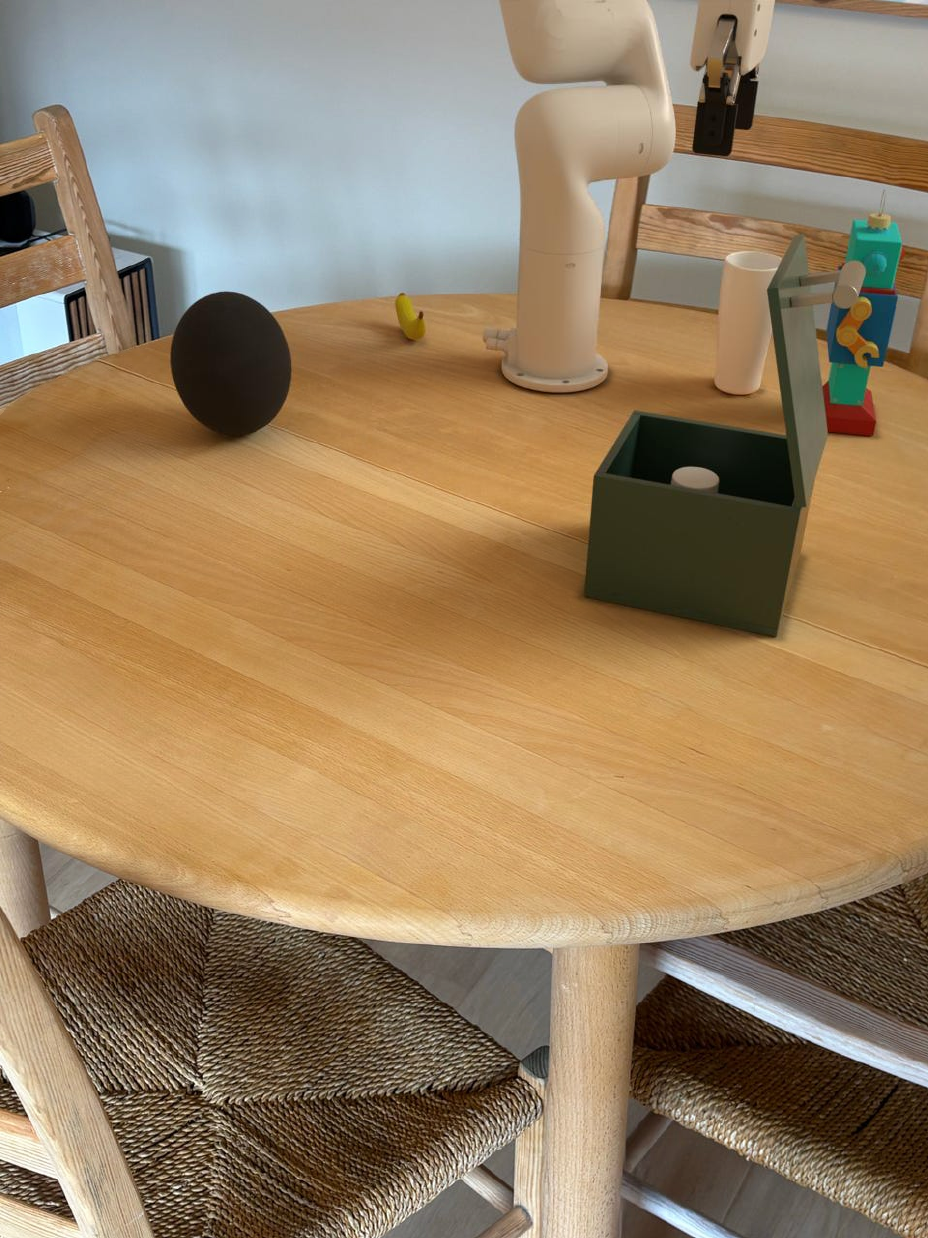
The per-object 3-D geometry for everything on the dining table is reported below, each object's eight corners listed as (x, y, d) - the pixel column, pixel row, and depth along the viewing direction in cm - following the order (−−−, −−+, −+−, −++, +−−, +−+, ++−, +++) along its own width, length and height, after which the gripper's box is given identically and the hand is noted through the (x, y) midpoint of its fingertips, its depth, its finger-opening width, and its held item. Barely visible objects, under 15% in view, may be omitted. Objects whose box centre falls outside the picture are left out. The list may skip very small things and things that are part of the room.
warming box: (583, 596, 108) (593, 475, 101) (623, 524, 118) (634, 409, 112) (776, 637, 103) (800, 512, 96) (799, 557, 114) (822, 440, 107)
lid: (766, 289, 88) (848, 277, 86) (794, 234, 99) (867, 223, 96) (795, 508, 96) (871, 503, 94) (818, 436, 107) (886, 430, 105)
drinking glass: (701, 393, 144) (717, 265, 135) (714, 371, 149) (731, 247, 140) (759, 403, 142) (780, 273, 133) (770, 381, 147) (791, 255, 138)
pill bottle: (699, 588, 108) (712, 497, 103) (644, 570, 110) (654, 481, 105) (722, 561, 111) (736, 473, 106) (668, 545, 114) (679, 457, 109)
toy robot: (874, 443, 133) (925, 207, 119) (816, 437, 134) (860, 202, 120) (867, 399, 143) (914, 176, 129) (813, 394, 144) (853, 172, 130)
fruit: (430, 350, 153) (430, 311, 150) (413, 352, 153) (413, 313, 150) (409, 321, 161) (409, 283, 158) (393, 323, 161) (392, 285, 158)
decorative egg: (228, 467, 127) (214, 326, 118) (156, 430, 134) (137, 294, 125) (319, 429, 134) (311, 294, 126) (246, 396, 141) (234, 266, 133)
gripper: (725, -100, 105) (700, 114, 114) (680, -82, 91) (656, 159, 101) (815, -95, 103) (782, 122, 112) (783, -76, 89) (748, 169, 99)
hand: (722, 140), depth 107 cm, fingers open, 9 cm apart
